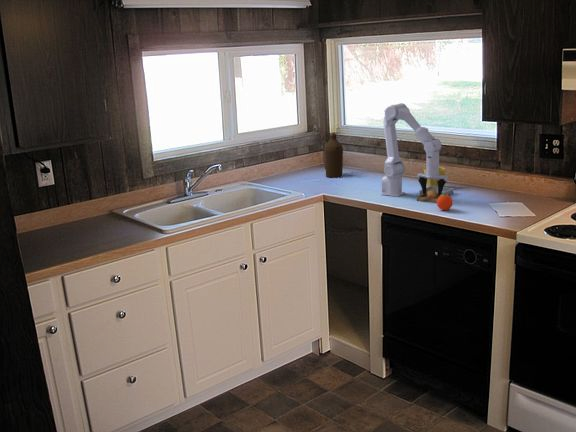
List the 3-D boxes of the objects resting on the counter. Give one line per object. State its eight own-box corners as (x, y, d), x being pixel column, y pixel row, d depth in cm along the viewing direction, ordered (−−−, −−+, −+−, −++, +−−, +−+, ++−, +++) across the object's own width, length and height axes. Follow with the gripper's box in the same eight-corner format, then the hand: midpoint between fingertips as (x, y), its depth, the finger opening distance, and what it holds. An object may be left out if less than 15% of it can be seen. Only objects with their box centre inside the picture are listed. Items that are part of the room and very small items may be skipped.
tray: (417, 200, 295) (417, 196, 295) (425, 196, 302) (425, 192, 301) (438, 203, 289) (439, 199, 288) (447, 199, 295) (447, 195, 295)
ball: (425, 199, 295) (425, 189, 293) (429, 196, 298) (429, 187, 297) (434, 200, 292) (434, 190, 291) (438, 197, 296) (438, 188, 294)
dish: (419, 195, 305) (419, 190, 304) (430, 190, 314) (430, 185, 313) (442, 198, 298) (443, 193, 297) (453, 193, 307) (453, 188, 306)
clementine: (431, 210, 278) (431, 194, 276) (438, 207, 283) (439, 191, 281) (448, 212, 273) (448, 197, 271) (455, 209, 278) (455, 193, 276)
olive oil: (347, 175, 359) (346, 131, 352) (336, 178, 351) (335, 134, 344) (331, 173, 365) (330, 130, 359) (321, 177, 357) (319, 133, 351)
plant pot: (436, 190, 313) (436, 171, 310) (419, 188, 320) (419, 169, 318) (448, 187, 319) (449, 168, 317) (432, 184, 327) (432, 166, 324)
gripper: (414, 165, 292) (414, 194, 296) (443, 168, 284) (443, 197, 287) (421, 163, 298) (420, 191, 301) (450, 165, 289) (449, 194, 293)
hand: (432, 194), depth 295 cm, fingers open, 7 cm apart
